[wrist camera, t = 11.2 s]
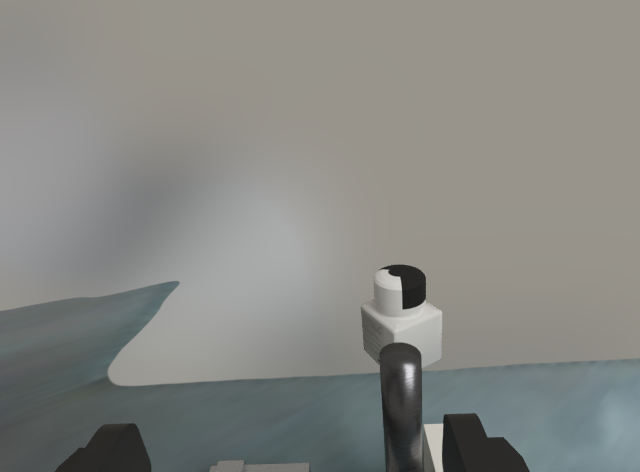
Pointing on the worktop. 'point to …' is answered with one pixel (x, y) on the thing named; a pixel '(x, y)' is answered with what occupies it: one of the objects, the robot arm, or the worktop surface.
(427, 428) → the socket block
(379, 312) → the container
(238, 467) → the sleeve
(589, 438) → the worktop surface
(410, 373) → the tube
